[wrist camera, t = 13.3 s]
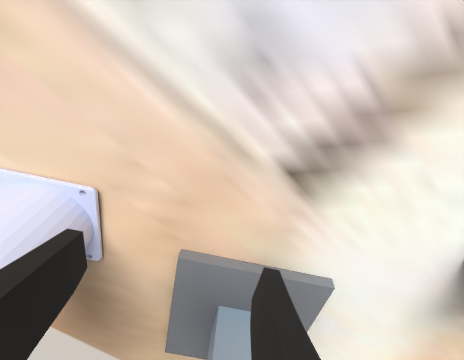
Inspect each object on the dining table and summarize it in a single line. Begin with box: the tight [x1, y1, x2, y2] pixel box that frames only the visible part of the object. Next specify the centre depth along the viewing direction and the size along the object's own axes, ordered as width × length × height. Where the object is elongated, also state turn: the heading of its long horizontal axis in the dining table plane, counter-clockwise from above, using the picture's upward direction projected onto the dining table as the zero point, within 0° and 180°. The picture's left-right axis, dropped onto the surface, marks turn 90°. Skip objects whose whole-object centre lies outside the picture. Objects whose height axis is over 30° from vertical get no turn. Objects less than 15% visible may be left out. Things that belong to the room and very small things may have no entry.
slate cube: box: [207, 306, 251, 360], centre depth 24 cm, size 5×5×5 cm
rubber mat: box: [165, 249, 335, 360], centre depth 27 cm, size 14×16×1 cm
